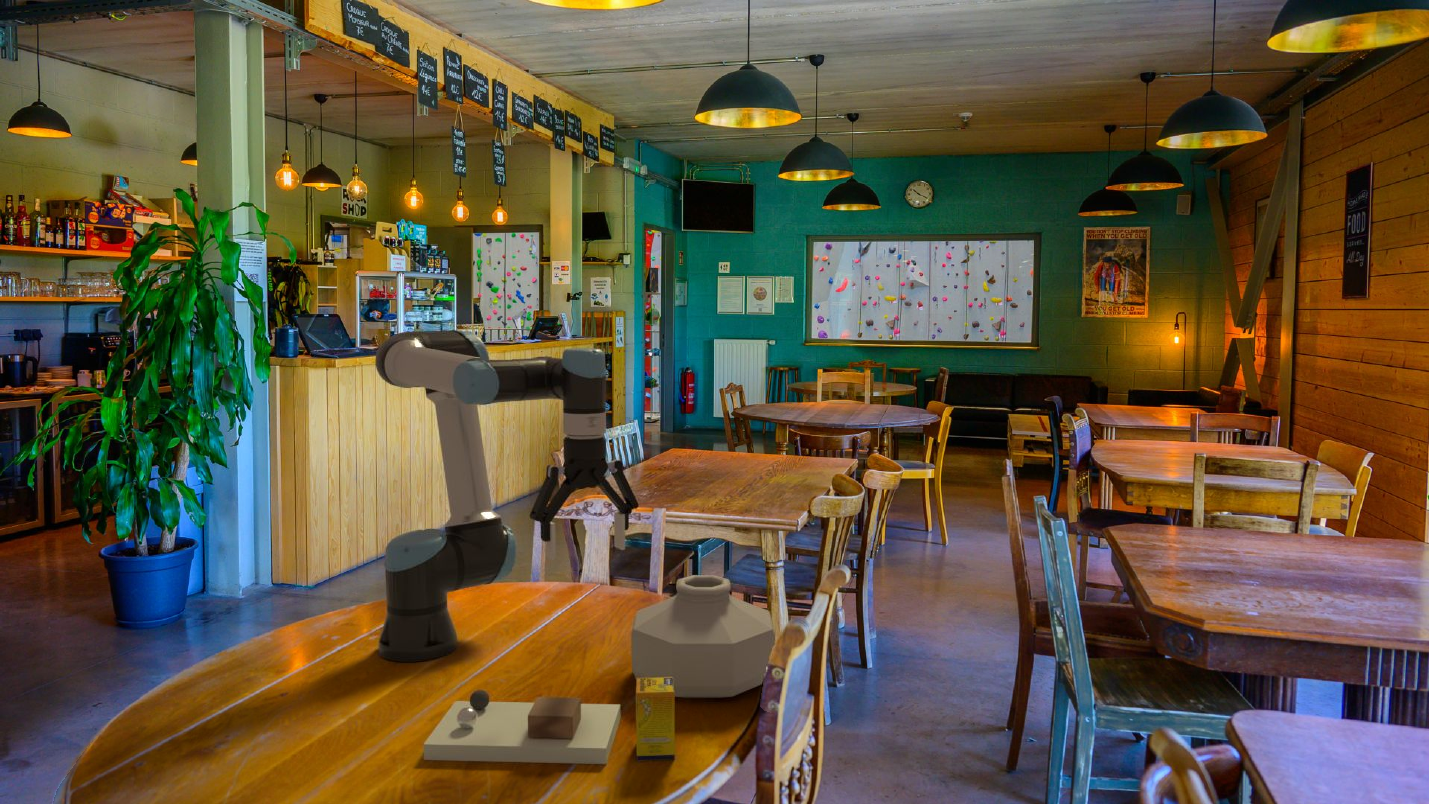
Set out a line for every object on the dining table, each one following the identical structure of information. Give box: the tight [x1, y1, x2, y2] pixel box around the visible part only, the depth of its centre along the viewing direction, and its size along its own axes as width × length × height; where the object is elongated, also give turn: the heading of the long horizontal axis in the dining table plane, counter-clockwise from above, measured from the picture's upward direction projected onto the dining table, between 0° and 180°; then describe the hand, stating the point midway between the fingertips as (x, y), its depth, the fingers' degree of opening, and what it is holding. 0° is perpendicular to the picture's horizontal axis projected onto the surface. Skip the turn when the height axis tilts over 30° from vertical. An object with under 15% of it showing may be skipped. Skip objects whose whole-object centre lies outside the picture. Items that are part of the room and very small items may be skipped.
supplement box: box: [635, 677, 676, 762], centre depth 150 cm, size 6×6×11 cm
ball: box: [457, 707, 478, 729], centre depth 152 cm, size 3×3×3 cm
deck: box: [423, 700, 621, 765], centre depth 154 cm, size 28×16×2 cm, turn 88°
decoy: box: [469, 689, 490, 710], centre depth 159 cm, size 3×3×3 cm
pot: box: [630, 574, 776, 699], centre depth 179 cm, size 28×28×19 cm
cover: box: [528, 696, 582, 738], centre depth 152 cm, size 7×7×4 cm
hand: (586, 553), depth 172 cm, fingers open, 13 cm apart
